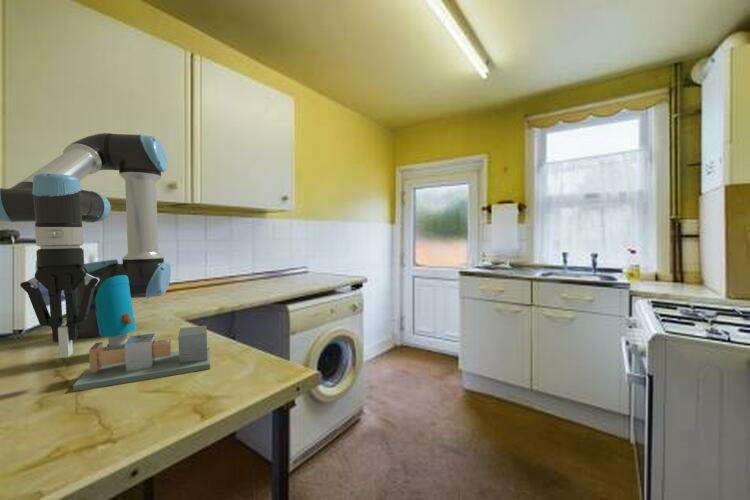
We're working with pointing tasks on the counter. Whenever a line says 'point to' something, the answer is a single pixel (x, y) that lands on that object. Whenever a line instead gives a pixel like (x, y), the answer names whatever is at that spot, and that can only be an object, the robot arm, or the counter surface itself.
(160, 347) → the bolt
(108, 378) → the board
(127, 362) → the sleeve
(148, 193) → the robot arm
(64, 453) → the counter surface
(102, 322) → the security camera
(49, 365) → the counter surface
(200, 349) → the socket
